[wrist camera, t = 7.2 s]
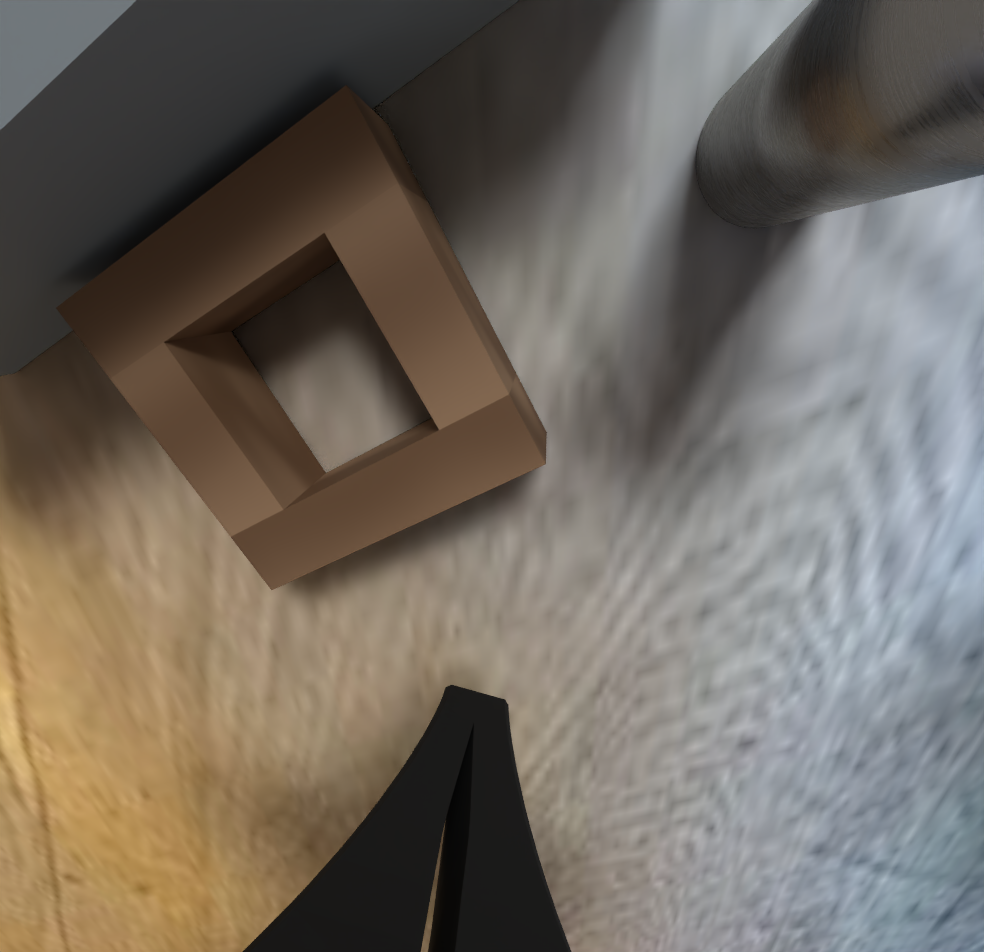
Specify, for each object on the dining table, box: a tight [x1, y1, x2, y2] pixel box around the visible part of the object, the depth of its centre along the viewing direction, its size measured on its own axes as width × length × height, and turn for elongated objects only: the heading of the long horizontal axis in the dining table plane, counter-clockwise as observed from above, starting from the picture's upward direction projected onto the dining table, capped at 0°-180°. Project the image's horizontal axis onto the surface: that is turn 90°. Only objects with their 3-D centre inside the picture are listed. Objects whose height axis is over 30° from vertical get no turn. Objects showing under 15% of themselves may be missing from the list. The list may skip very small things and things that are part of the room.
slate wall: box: [0, 0, 519, 376], centre depth 9 cm, size 2×20×6 cm, turn 118°
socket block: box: [56, 85, 547, 590], centre depth 12 cm, size 8×8×2 cm
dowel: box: [696, 0, 984, 228], centre depth 7 cm, size 3×3×8 cm
